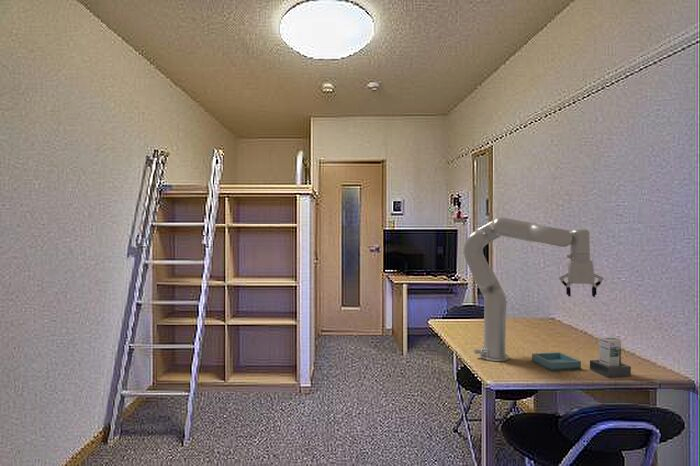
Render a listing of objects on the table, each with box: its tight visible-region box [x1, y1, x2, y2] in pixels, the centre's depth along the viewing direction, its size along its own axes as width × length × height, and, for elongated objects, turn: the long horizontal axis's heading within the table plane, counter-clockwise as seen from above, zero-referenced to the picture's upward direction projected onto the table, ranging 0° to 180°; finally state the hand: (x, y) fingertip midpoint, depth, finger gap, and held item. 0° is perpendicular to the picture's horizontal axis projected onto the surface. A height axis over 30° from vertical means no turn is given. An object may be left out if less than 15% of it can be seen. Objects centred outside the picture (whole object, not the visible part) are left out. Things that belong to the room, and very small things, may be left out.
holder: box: [589, 359, 632, 379], centre depth 189 cm, size 10×10×4 cm
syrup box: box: [598, 336, 622, 367], centre depth 188 cm, size 6×6×14 cm
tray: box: [531, 351, 582, 372], centre depth 198 cm, size 14×14×4 cm
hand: (581, 296), depth 199 cm, fingers open, 9 cm apart
